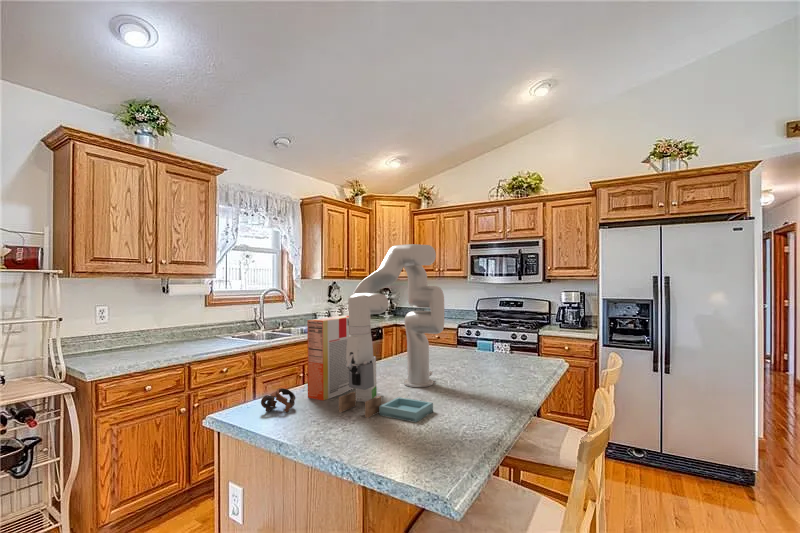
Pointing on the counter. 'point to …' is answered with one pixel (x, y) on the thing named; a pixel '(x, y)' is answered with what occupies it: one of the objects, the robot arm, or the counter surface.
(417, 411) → the tray
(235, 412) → the counter surface
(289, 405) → the brown looped piece
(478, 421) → the counter surface
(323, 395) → the cereal box
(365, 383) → the grey rectangular block
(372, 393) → the skincare box
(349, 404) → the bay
